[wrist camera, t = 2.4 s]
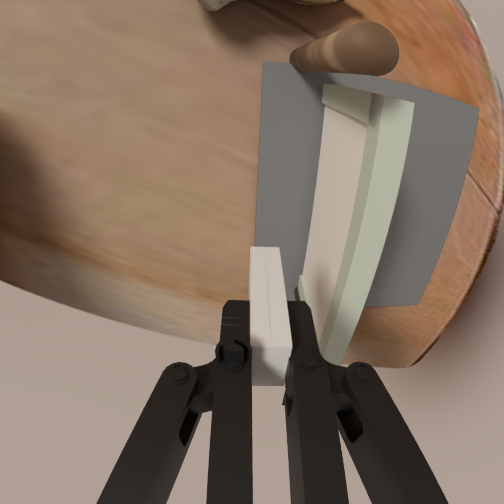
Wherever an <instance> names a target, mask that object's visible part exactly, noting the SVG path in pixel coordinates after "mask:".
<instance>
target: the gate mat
mask: <svg viewBox="0 0 504 504" xmlns="http://www.w3.org/2000/svg"><path fill="white" fill-rule="evenodd" d="M323 83H326V84H333V85H340V86H346V87H351V88H356V89H361V90H365V91H370V92H374V93H379V94H383V95H387V96H391V97H394V98H398V99H402V100H405V101H409V102H412V103H415V104H414V112H413V118H412V125H411V131H410V137H409V142H408V148H407V153H406V158H405V163H404V168H403V173H402V177H401V182H400V186H399V190H398V195H397V199H396V203H395V207H394V211H393V215H392V218H391V222H390V226H389V229H388V233H387V236H386V240H385V243H384V247H383V250H382V253H381V257H380V260H379V263H378V266H377V269H376V272H375V275H374V279H373V282H372V284H371V287H370V290H369V293H368V296H367V299H366V302H365V304H364V307H385V306H405V305H418V304H419V302H420V300H421V298H422V296H423V293H424V291H425V289H426V287H427V284H428V282H429V280H430V278H431V275H432V273H433V270H434V268H435V266H436V263H437V261H438V258H439V256H440V253H441V251H442V248H443V245H444V243H445V240H446V237H447V234H448V232H449V229H450V226H451V223H452V220H453V217H454V214H455V211H456V208H457V204H458V201H459V198H460V194H461V191H462V187H463V184H464V180H465V176H466V172H467V169H468V164H469V160H470V156H471V152H472V147H473V142H474V137H475V132H476V127H477V121H478V115H479V109H478V108H476V107H473V106H471V105H468V104H466V103H463V102H460V101H458V100H455V99H452V98H449V97H446V96H444V95H441V94H438V93H434V92H431V91H428V90H425V89H422V88H418V87H415V86H411V85H407V84H404V83H400V82H396V81H392V80H388V79H384V78H379V77H375V76H370V75H360V74H345V73H318V72H300V71H298V70H296V69H295V68H294V67H293V66H292V64H289V63H276V62H263V79H262V100H261V121H260V142H259V163H258V184H257V204H256V225H255V245H254V247H279V249H280V256H281V263H282V270H283V278H284V285H285V292H286V300H287V301H296V300H295V294H294V290H295V288H296V287H297V286H298V283H299V277H300V275H303V269H304V263H305V257H306V251H307V244H308V238H309V231H310V225H311V218H312V211H313V204H314V197H315V189H316V182H317V174H318V166H319V157H320V149H321V140H322V130H323V121H324V110H325V104H324V103H322V95H323Z"/></svg>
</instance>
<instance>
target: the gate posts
mask: <svg viewBox="0 0 504 504" xmlns="http://www.w3.org/2000/svg"><path fill="white" fill-rule="evenodd" d="M398 59H399V48H398V44H397V41H396V39H395V38H394V36H393V35H392V33H391V32H390V31H389V30H388V29H386V28H385V27H384V26H382V25H380V24H378V23H375V22H360V23H358V24H355V25H352V26H349V27H347V28H344V29H342V30H339V31H337V32H334V33H332V34H329V35H327V36H325V37H322V38H320V39H318V40H315V41H313V42H311V43H308V44H306V45H304V46H302V47H300V48H298V49H296V50H294V51H293V52H292V53H291V55H290V63H291V64H292V66H293V67H294V68H295V69H296V70H298V71H300V72H318V73H345V74H360V75H371V76H381V75H385V74H387V73H389V72H390V71H392V70H393V69H394V67H395V66H396V64H397V62H398ZM294 294H295V300H296V301H300V296H299V291H298V286H297V287H296V288H295V290H294Z"/></svg>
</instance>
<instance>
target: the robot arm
mask: <svg viewBox="0 0 504 504" xmlns="http://www.w3.org/2000/svg"><path fill="white" fill-rule="evenodd" d="M215 353H216V358H215V359H214V360H213V361H212V362H210V363H208V364H205V365H202V366H198V367H192V366H191V365H189V364H187V363H182V362H177V363H173V364H171V365H169V366H167V367H166V369H165V370H164V371H163V373H162V375H161V377H160V378H159V380H158V382H157V384H156V386H155V388H154V390H153V392H152V394H151V396H150V398H149V400H148V401H147V403H146V406H145V407H144V409H143V411H142V413H141V415H140V417H139V419H138V421H137V423H136V425H135V427H134V429H133V431H132V433H131V435H130V437H129V439H128V441H127V443H126V445H125V447H124V449H123V451H122V453H121V455H120V457H119V459H118V461H117V463H116V465H115V467H114V469H113V471H112V473H111V475H110V477H109V479H108V481H107V483H106V485H105V487H104V489H103V491H102V493H101V495H100V497H99V500H98V502H97V504H166V503H167V500H168V498H169V495H170V492H171V490H172V488H173V485H174V483H175V480H176V478H177V476H178V473H179V471H180V468H181V465H182V463H183V461H184V458H185V455H186V453H187V450H188V448H189V445H190V443H191V441H192V438H193V436H194V433H195V431H196V428H197V425H198V423H199V420H200V418H201V415H202V413H203V412H208V411H212V423H211V436H210V437H211V438H210V451H209V467H208V483H207V502H206V503H207V504H253V486H252V485H253V484H252V483H253V476H252V474H253V473H252V386H283V385H284V382H285V388H286V390H285V394H284V398H283V403H282V405H285V413H286V429H287V444H288V460H289V476H290V494H291V504H349V501H348V493H347V485H346V478H345V471H344V464H343V458H342V451H341V444H340V438H339V432H338V429H339V431H340V434H341V436H342V438H343V440H344V442H345V445H346V447H347V449H348V451H349V454H350V456H351V458H352V460H353V462H354V465H355V467H356V469H357V471H358V473H359V475H360V478H361V480H362V482H363V485H364V487H365V489H366V491H367V493H368V496H369V498H370V500H371V502H372V504H448V502H447V500H446V498H445V496H444V494H443V492H442V490H441V488H440V486H439V484H438V482H437V480H436V478H435V476H434V474H433V472H432V470H431V468H430V467H429V465H428V463H427V461H426V459H425V457H424V455H423V453H422V452H421V450H420V448H419V446H418V444H417V442H416V441H415V439H414V437H413V435H412V434H411V432H410V430H409V428H408V426H407V424H406V423H405V421H404V419H403V417H402V416H401V414H400V412H399V410H398V408H397V407H396V405H395V403H394V402H393V400H392V398H391V396H390V395H389V393H388V391H387V390H386V388H385V386H384V384H383V383H382V381H381V380H380V378H379V376H378V374H377V373H376V371H375V370H374V368H373V367H372V366H370V365H369V364H367V363H363V362H355V363H352V364H351V365H349V366H348V368H347V367H343V366H338V365H334V364H332V363H330V362H328V361H326V360H325V359H324V358H323V357H322V355H321V353H320V351H319V346H318V341H317V336H316V331H315V326H314V321H313V316H312V312H311V308H310V307H309V306H308V304H307V303H306V302H305V301H287V300H286V292H285V285H284V278H283V270H282V263H281V256H280V249H279V247H250V272H249V301H243V300H228V301H227V302H226V304H225V305H224V307H223V312H222V322H221V332H220V342H219V343H218V344H217V346H216V349H215Z"/></svg>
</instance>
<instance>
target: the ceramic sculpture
mask: <svg viewBox="0 0 504 504" xmlns="http://www.w3.org/2000/svg"><path fill="white" fill-rule="evenodd" d="M197 1H198V2H199V3H201V4H202V5H203V6H204V8H205V9H207V10H210V11H217V10H219V9H221V8H222V7H224V6H225V5H227V4H228V3H229V2H231V1H235V0H197ZM287 1H290V2H293V3H297V4H301V5H315V6H321V5H328V4H332V3H337V2H342V1H343V0H287Z"/></svg>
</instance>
